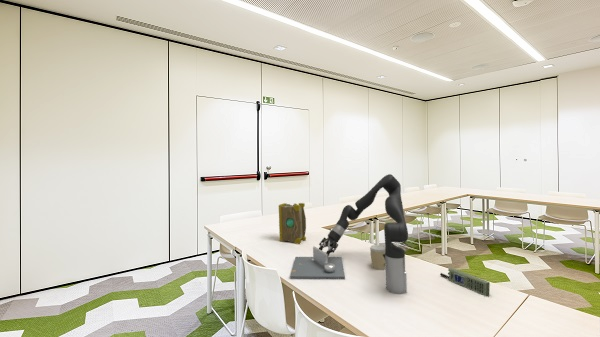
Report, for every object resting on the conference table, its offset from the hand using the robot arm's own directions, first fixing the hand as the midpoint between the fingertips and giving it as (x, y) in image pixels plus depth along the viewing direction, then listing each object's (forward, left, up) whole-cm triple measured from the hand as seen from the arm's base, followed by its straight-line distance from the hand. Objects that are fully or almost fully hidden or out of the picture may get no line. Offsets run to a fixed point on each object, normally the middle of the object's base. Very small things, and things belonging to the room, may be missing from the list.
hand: (321, 254), depth 174 cm
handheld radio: (-71, +26, -7) cm, 76 cm away
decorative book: (+23, -49, -7) cm, 54 cm away
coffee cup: (-34, +3, -7) cm, 34 cm away
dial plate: (+2, +5, -6) cm, 9 cm away
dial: (-1, +7, -4) cm, 8 cm away
